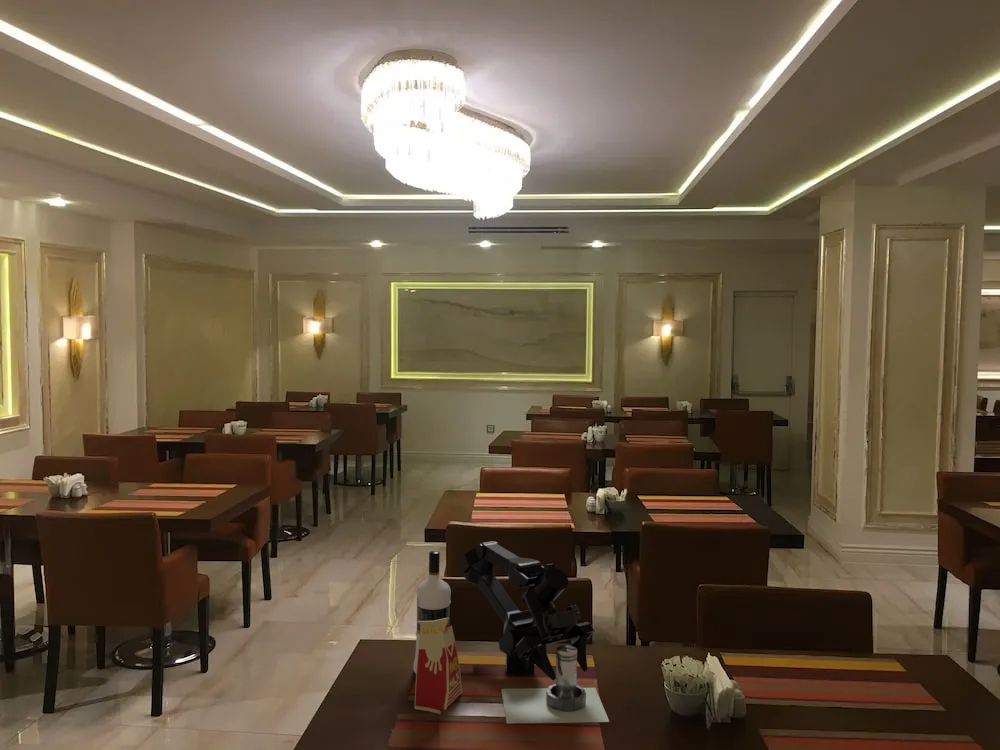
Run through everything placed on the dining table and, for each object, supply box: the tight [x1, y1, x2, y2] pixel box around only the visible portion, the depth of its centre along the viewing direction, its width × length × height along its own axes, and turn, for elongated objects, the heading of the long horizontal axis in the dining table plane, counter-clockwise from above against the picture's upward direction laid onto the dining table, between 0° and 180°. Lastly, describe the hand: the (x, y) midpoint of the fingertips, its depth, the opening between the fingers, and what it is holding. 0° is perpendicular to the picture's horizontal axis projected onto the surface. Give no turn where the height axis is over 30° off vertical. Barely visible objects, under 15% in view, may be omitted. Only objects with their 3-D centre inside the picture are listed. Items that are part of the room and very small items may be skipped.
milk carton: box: [414, 616, 463, 715], centre depth 181 cm, size 9×9×20 cm
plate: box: [500, 687, 610, 725], centre depth 179 cm, size 22×16×1 cm
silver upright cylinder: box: [555, 644, 578, 699], centre depth 180 cm, size 5×5×12 cm
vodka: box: [412, 550, 452, 674], centre depth 196 cm, size 9×9×30 cm
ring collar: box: [546, 683, 586, 712], centre depth 180 cm, size 9×9×2 cm
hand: (570, 675), depth 179 cm, fingers open, 8 cm apart
